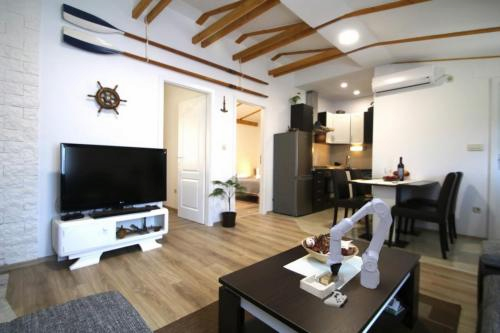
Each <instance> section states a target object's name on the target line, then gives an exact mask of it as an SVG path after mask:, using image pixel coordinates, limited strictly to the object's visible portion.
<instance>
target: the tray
mask: <svg viewBox="0 0 500 333" xmlns="http://www.w3.org/2000/svg"><path fill="white" fill-rule="evenodd" d="M315 279H316V274H315V273H312V274H310V275H307V276H306V277H304V278H302V279H301V280H300V281H299V288H300V289H302V290H303V291H306V292H307V293H309V294H311V295H313V296H315V297H317V298H319V299H320V300H323V299H325V298H326V297H327V296H329V295H330V294H332V292H333V291H336V290H335V283H334V282H332V283H330V284H329V285H327V286H326V285H324V284H321V283H319V282H317V281H315Z"/></svg>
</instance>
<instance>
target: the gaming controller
mask: <svg viewBox="0 0 500 333" xmlns="http://www.w3.org/2000/svg"><path fill="white" fill-rule="evenodd" d="M331 294H332V296H330V297H328V298H327V299H325V300H324V301H323V304H325V305H326V306H330V307H334V308H340V309H341V308H343V307H344V305H345V303H346V302H347V300H348V296H347V295H345V292H340V291H337V290H335V291H333V292H332V293H331Z"/></svg>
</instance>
